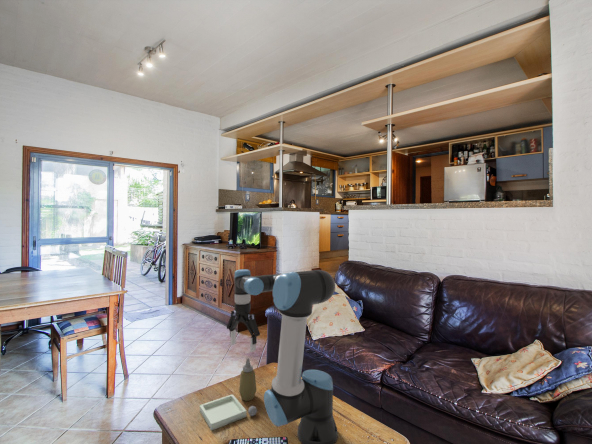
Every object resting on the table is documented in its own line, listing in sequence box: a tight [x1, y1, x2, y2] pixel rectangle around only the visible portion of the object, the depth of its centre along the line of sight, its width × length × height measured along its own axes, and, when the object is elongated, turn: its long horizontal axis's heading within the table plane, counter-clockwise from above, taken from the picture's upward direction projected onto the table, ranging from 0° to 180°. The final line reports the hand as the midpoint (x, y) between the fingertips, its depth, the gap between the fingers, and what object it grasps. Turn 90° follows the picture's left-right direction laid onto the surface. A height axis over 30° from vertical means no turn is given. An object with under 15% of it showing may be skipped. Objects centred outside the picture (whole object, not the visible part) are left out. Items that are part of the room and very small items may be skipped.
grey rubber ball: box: [247, 405, 258, 417], centre depth 126 cm, size 4×4×4 cm
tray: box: [199, 394, 248, 432], centre depth 127 cm, size 15×15×2 cm
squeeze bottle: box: [238, 357, 257, 402], centre depth 139 cm, size 8×8×18 cm
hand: (242, 347), depth 142 cm, fingers open, 13 cm apart
